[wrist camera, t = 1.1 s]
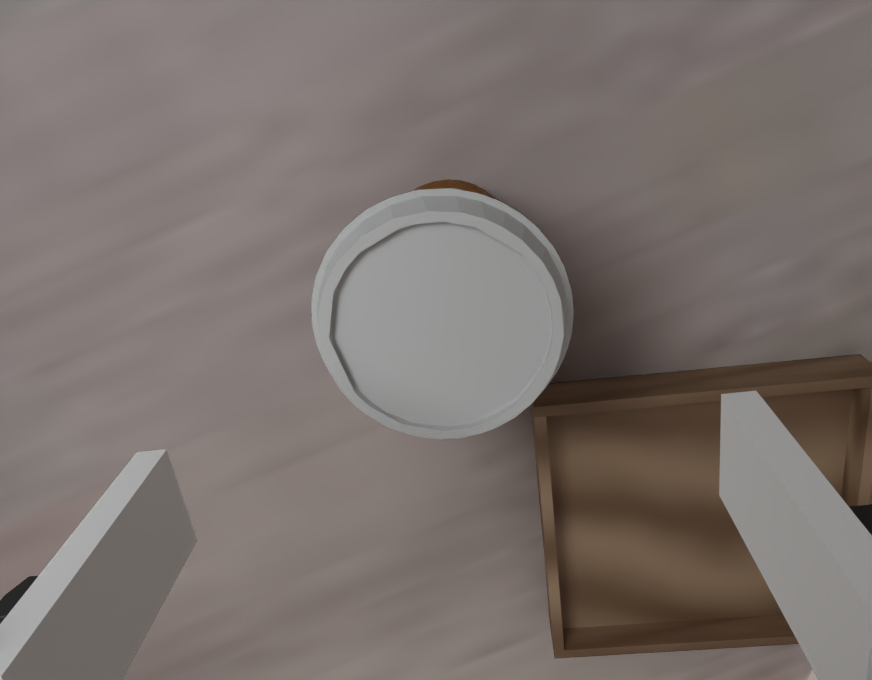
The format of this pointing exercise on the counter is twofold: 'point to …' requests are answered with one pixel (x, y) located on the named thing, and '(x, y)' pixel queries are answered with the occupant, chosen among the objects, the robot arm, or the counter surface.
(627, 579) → the box
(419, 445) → the counter surface
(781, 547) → the robot arm
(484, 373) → the disposable coffee cup
